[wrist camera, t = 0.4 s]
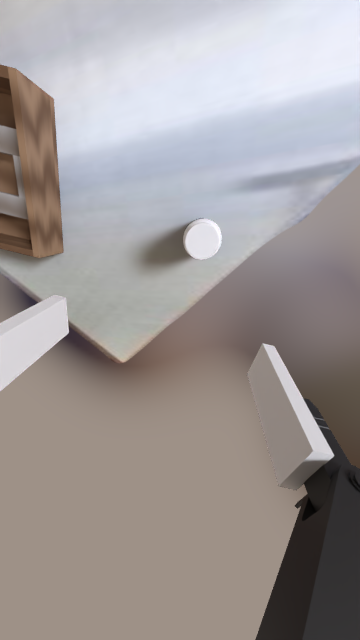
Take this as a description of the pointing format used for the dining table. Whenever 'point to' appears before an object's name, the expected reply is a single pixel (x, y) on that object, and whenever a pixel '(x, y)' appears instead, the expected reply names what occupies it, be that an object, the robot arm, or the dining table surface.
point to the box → (28, 168)
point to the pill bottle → (202, 238)
